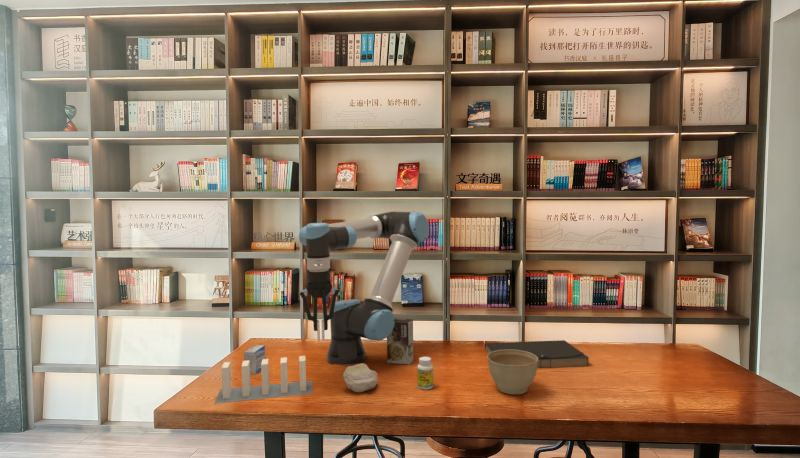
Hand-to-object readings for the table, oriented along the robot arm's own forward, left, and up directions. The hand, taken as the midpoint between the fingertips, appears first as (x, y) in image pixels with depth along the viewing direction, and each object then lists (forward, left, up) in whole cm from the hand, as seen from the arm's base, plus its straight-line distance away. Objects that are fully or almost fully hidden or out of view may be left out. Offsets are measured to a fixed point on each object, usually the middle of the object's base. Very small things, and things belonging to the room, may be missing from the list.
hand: (321, 339), depth 158 cm
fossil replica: (-13, +5, -17) cm, 21 cm away
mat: (+18, 0, -16) cm, 24 cm away
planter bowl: (-61, +17, -16) cm, 65 cm away
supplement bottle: (-34, +8, -16) cm, 38 cm away
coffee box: (-31, -18, -17) cm, 39 cm away
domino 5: (+6, 0, -16) cm, 17 cm away
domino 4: (+12, 0, -16) cm, 20 cm away
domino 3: (+18, 0, -16) cm, 24 cm away
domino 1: (+30, 0, -16) cm, 34 cm away
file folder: (-82, -9, -17) cm, 85 cm away
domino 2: (+24, 0, -16) cm, 29 cm away
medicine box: (+23, -21, -16) cm, 35 cm away
